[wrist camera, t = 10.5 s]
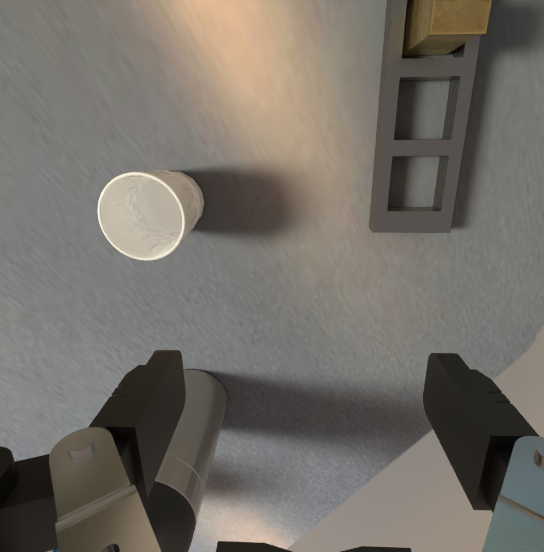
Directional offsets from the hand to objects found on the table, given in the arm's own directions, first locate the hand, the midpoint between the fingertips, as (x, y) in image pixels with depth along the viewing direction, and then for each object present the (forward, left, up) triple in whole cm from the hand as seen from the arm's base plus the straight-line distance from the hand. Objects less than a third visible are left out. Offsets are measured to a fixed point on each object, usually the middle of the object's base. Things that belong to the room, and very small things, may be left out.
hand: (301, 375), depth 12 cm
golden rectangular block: (+17, -12, -32) cm, 38 cm away
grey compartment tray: (+10, -12, -32) cm, 35 cm away
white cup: (+1, +14, -32) cm, 35 cm away
